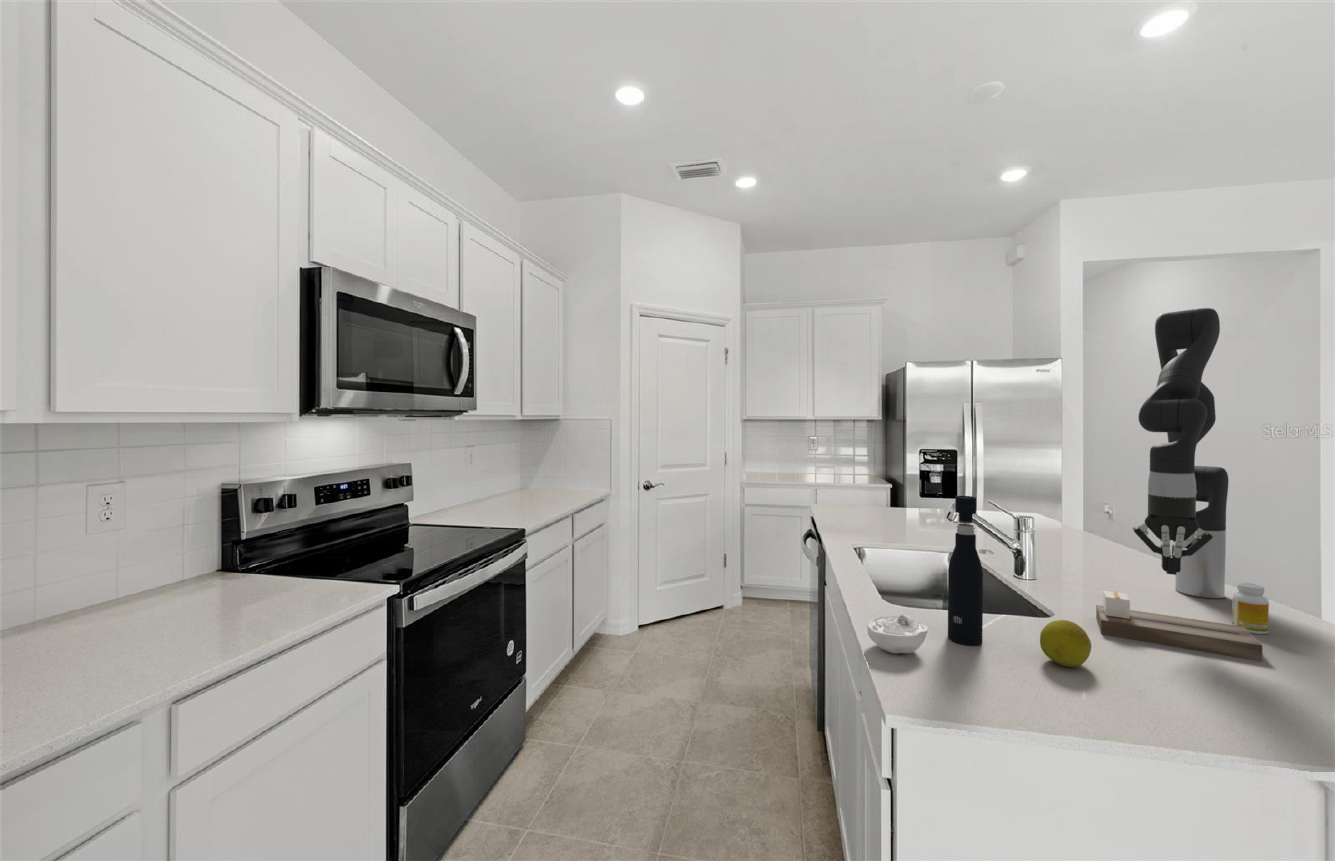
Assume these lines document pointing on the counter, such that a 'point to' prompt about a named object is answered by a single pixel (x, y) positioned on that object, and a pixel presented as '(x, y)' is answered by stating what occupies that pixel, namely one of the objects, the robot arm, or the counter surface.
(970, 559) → the black water bottle
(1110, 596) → the block
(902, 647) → the cell model
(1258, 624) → the supplement bottle
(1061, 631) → the lemon
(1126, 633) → the brown flat piece
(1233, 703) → the counter surface
